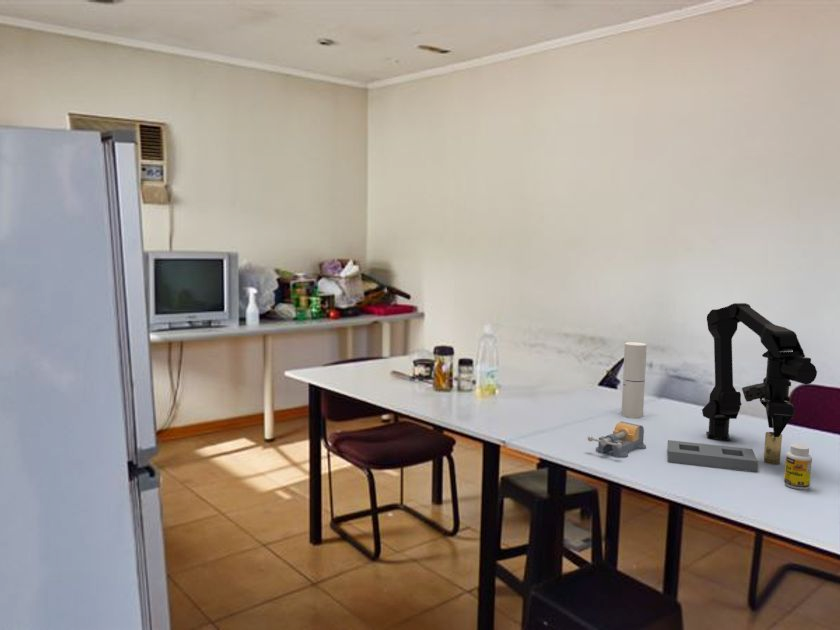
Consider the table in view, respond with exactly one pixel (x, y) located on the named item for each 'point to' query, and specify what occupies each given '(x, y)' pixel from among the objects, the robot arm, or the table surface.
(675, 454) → the jig
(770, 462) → the cylinder
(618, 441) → the vise
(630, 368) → the cylindrical container
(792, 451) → the supplement bottle
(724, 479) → the table surface
